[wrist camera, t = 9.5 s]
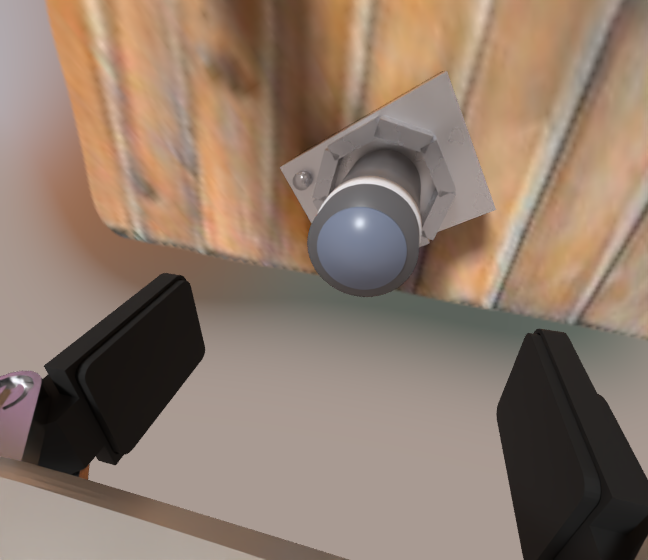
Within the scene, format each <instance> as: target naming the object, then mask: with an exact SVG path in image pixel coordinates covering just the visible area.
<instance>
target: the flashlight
mask: <svg viewBox="0 0 648 560" xmlns="http://www.w3.org/2000/svg"><path fill="white" fill-rule="evenodd" d="M420 195H421V180H420V175H419V172H418V170H417V168H416V166H415V165H414V163H413V162H412V161H411V160H410V159H409V158H408V157H407V156H405V155H404V154H402V153H400V152H398V151H394V150H389V149H380V150H375V151H371V152H369V153H367V154H365V155H364V156H362V157H361V158H360V159H359V160H358V161H357V162H356V163H355V164H354V166H353V167H352V168H351V170H350V171H349V172H348V174H347V175H346V176H345V178H344V179H343V180H342V182H341V183H340V184H339V186H338V187H337V188H335V189H334V190H333V191H332V192H331V193H330V195H329V196H328V197H327V199H326V200H325V201H324V203H323V204H322V205H321V207H320V209H319V211H318V214H317V216H316V217H315V218H314V220H313V222H312V224H311V226H310V229H309V233H308V241H307V245H308V253H309V257H310V260H311V262H312V264H313V266H314V268H315V270H316V271H317V273H318V274H319V275H320V276H321V277H322V279H323V280H325V281H326V282H327V283H328V284H329V285H331V286H332V287H334V288H336V289H337V290H339V291H341V292H344V293H346V294H350V295H354V296H360V297H361V296H362V297H373V296H379V295H383V294H386V293H388V292H391V291H393V290H395V289H396V288H398V287H399V286H401V285H402V284H403V283H404V282H405V281H406V280H407V279H408V278H409V276H410V275H411V274H412V272H413V270H414V268H415V266H416V263H417V260H418V254H419V247H420V243H421V235H422V222H421V215H420Z"/></svg>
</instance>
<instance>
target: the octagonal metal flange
mask: <svg viewBox="0 0 648 560" xmlns="http://www.w3.org/2000/svg"><path fill="white" fill-rule="evenodd" d="M380 149H389V150H394V151H398V152H400V153H402V154H404V155H405V156H407V157H408V158H409V159H410V160H411V161H412V162H413V163H414V165H415V166H416V168H417V170H418V172H419V175H420V180H421V195H420V215H421V222H422V235H421V243H420V247H421V246H424V245H427V244H429V243H430V239H431V240H434V238H435V236H436V234H437V232H439V231H442V230H444V229H447V228H450V227H452V226H455V225H457V224H460V223H463V222H465V221H468V220H470V219H473V218H476V217H478V216H481V215H483V214H486V213H489V212H491V211H494V210H496V209H495V206H494V203H493V200H492V197H491V195H490V192H489V189H488V186H487V183H486V180H485V178H484V175H483V172H482V169H481V166H480V163H479V161H478V158H477V155H476V152H475V149H474V146H473V144H472V141H471V138H470V135H469V132H468V129H467V127H466V124H465V121H464V118H463V115H462V112H461V110H460V107H459V104H458V101H457V98H456V95H455V93H454V90H453V87H452V84H451V81H450V79H449V76H448V73H447V71H442V72H440V73H439V74H437V75H435V76H433V77H432V78H430V79H428V80H426V81H425V82H423V83H421V84H420V85H418V86H416V87H414V88H413V89H411V90H409V91H407V92H406V93H404V94H402V95H401V96H399V97H397V98H395V99H394V100H392V101H390V102H389V103H387V104H385V105H383V106H382V107H380V108H378V109H376V110H375V111H373V112H371V113H370V114H368V115H366V116H364V117H363V118H361V119H359V120H357V121H356V122H354V123H352V124H351V125H349V126H347V127H345V128H344V129H342V130H340V131H338V132H337V133H335V134H333V135H332V136H330V137H328V138H326V139H325V140H323V141H321V142H320V143H318V144H316V145H314V146H313V147H311V148H309V149H307V150H306V151H304V152H302V153H301V154H299V155H298V156H296V157H295V158H293V159H292V160H290V161H289V162H287V163H286V164H284V165H283V166H281V167H280V169H281V171H282V172H283V174H284V176H285V178H286V179H287V181H288V183H289V185H290V186H291V188H292V190H293V192H294V193H295V195H296V197H297V199H298V200H299V202H300V204H301V206H302V207H303V209H304V211H305V213H306V214H307V216H308V218H309V220H310V221H311V223H312V222H313V220H314V218H315V217H316V216H317V214H318V211H319V209H320V207H321V205H322V204H323V203H324V201H325V200H326V199H327V197H328V196H329V195H330V193H331V192H332V191H333V190H334V189H335V188H337V187H338V186H339V184H340V183H341V182H342V180H343V179H344V178H345V176H346V175H347V174H348V172H349V171H350V170H351V168H352V167H353V166H354V164H355V163H356V162H357V161H358V160H359V159H360V158H361V157H362V156H364V155H365V154H367V153H369V152H371V151H375V150H380Z"/></svg>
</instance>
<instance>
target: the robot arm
mask: <svg viewBox="0 0 648 560" xmlns="http://www.w3.org/2000/svg"><path fill="white" fill-rule="evenodd" d="M204 353H205V345H204V341H203V337H202V333H201V328H200V324H199V320H198V315H197V311H196V307H195V303H194V299H193V294H192V290H191V286H190V283H189V282H188V281H186V279H185V278H184V277H183V276H181V275H175V274H168V273H163V274H161V275H159V276H158V277H157V278H156V279H154V280H153V281H152V282H151V283H149V284H148V285H147V286H146V287H144V288H143V289H141V290H140V291H139V292H138V293H137V294H135V295H134V296H132V297H131V298H130V299H129V300H127V301H126V302H125V303H124V304H122V305H121V306H120V307H118V308H117V309H116V310H115V311H113V312H112V313H111V314H109V315H108V316H107V317H106V318H104V319H103V320H102V321H101V322H99V323H98V324H97V325H95V326H94V327H93V328H92V329H91V330H89V331H88V332H86V333H85V334H84V335H83V336H81V337H80V338H79V339H77V340H76V341H75V342H74V343H72V344H71V345H70V346H69V347H67V348H66V349H65V350H63V351H62V352H61V353H60V354H58V355H57V356H56V357H55V358H53V359H52V360H51V361H49V362H48V363H47V364H45V365H44V367H45V369H46V371H47V372H48V375H47V376H46V377H45V378H44V379H42V378H41V376H40V375H39V374H38V373H36V372H33V371H17V372H12V373H8V374H6V375H3V376H0V560H349V559H345V558H342V557H339V556H335V555H333V554H329V553H326V552H323V551H320V550H317V549H313V548H310V547H307V546H304V545H300V544H297V543H294V542H290V541H287V540H284V539H281V538H278V537H274V536H271V535H268V534H264V533H261V532H258V531H255V530H252V529H248V528H245V527H242V526H238V525H235V524H232V523H229V522H225V521H222V520H219V519H216V518H212V517H209V516H206V515H203V514H199V513H196V512H193V511H190V510H186V509H183V508H180V507H176V506H173V505H170V504H167V503H163V502H160V501H157V500H153V499H150V498H147V497H143V496H140V495H136V494H133V493H130V492H126V491H123V490H120V489H116V488H113V487H109V486H106V485H103V484H100V483H96V482H93V481H90V480H88V475H89V465H90V464H89V463H90V462H91V461H92V460H93V459H94V457H95V456H96V457H97V459H98V460H99V461H102V462H106V463H109V464H113V465H116V464H117V463H118V462H119V460H120V459H121V458H122V456H123V455H124V454H128V453H129V452H130V451H131V450H132V449H133V448H134V447H135V446H136V444H137V443H138V442H139V440H140V439H141V438H142V437H143V435H144V434H145V433H146V431H147V430H148V428H149V427H150V426H151V425H152V424H153V422H154V421H155V420H156V418H157V417H158V416H159V414H160V413H161V412H162V411H163V409H164V408H165V407H166V405H167V404H168V403H169V402H170V400H171V399H172V398H173V396H174V395H175V394H176V392H177V391H178V390H179V388H180V387H181V386H182V385H183V383H184V382H185V381H186V379H187V378H188V377H189V376H190V374H191V373H192V372H193V370H194V369H195V368H196V366H197V365H198V364H199V362H200V361H201V360H202V358H203V356H204ZM497 422H498V427H499V432H500V437H501V443H502V449H503V454H504V459H505V464H506V469H507V474H508V480H509V485H510V491H511V496H512V501H513V507H514V512H515V517H516V522H517V527H518V533H519V538H520V543H521V549H522V553H523V558H524V560H648V480H647V477H646V475H645V474H644V472H643V470H642V468H641V466H640V464H639V462H638V460H637V458H636V457H635V455H634V453H633V451H632V449H631V447H630V445H629V443H628V441H627V439H626V437H625V436H624V434H623V432H622V430H621V428H620V426H619V424H618V422H617V420H616V418H615V416H614V415H613V413H612V411H611V409H610V407H609V405H608V403H607V402H606V400H605V399H604V398H603V397H602V396H601V395H599V394H597V392H596V390H595V388H594V386H593V385H592V383H591V381H590V379H589V377H588V375H587V373H586V371H585V369H584V367H583V365H582V363H581V361H580V359H579V357H578V355H577V353H576V351H575V349H574V347H573V345H572V343H571V341H570V339H569V337H568V336H567V334H566V333H564V332H558V331H551V330H545V329H537V330H536V331H535V332H534V334H531V333H528V334H527V335H526V336H525V338H524V341H523V343H522V346H521V348H520V351H519V353H518V356H517V358H516V361H515V363H514V366H513V368H512V371H511V373H510V376H509V378H508V381H507V383H506V386H505V388H504V391H503V393H502V396H501V398H500V401H499V403H498V406H497Z"/></svg>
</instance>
